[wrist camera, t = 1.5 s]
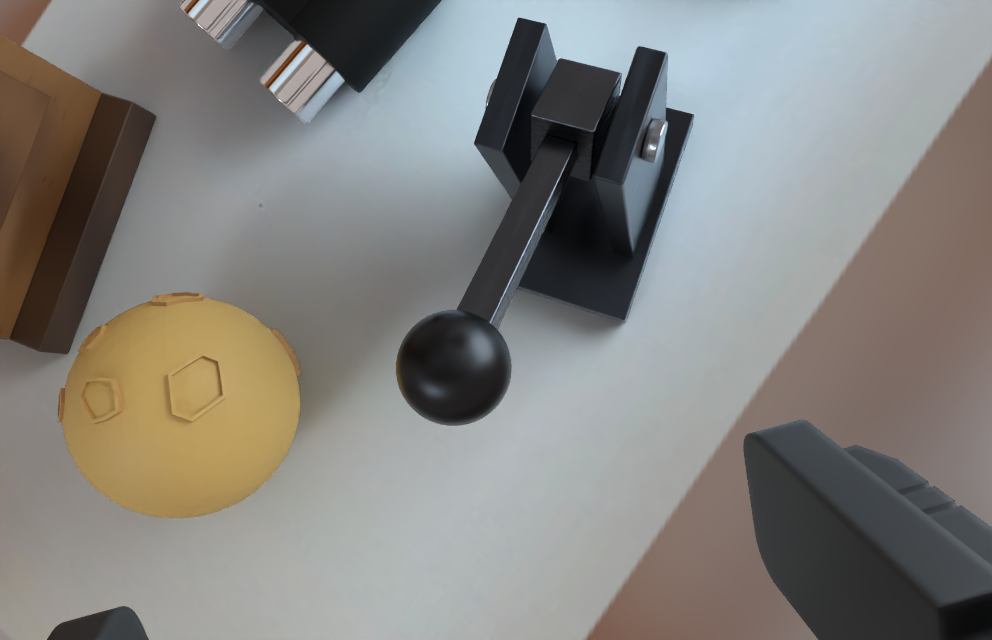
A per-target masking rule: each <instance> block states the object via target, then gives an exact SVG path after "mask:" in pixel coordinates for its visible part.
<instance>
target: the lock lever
mask: <svg viewBox="0 0 992 640" xmlns="http://www.w3.org/2000/svg"><path fill="white" fill-rule="evenodd" d="M621 76H622V74H621V73H619V72H615V71H611V70H607V69H603V68H599V67H595V66H591V65H586V64H582V63H578V62H574V61H570V60H566V59H562V58H560V59H559V60H558V62H557V64H556V66H555V68H554V70H553V72H552V73H551V75H550V77H549V79H548V81H547V83H546V85H545V87H544V89H543V90H542V92H541V94H540V96H539V98H538V100H537V102H536V104H535V106H534V107H533V109H532V111H531V113H530V163H531V164H530V166H529V168H528V170H527V172H526V174H525V176H524V178H523V180H522V182H521V184H520V186H519V188H518V190H517V192H516V194H515V196H514V198H513V200H512V202H511V204H510V206H509V208H508V210H507V212H506V214H505V216H504V218H503V219H502V221H501V223H500V225H499V227H498V229H497V231H496V233H495V235H494V237H493V239H492V241H491V243H490V245H489V247H488V249H487V251H486V253H485V255H484V257H483V259H482V261H481V263H480V265H479V267H478V269H477V271H476V273H475V275H474V277H473V279H472V281H471V283H470V285H469V286H468V288H467V290H466V292H465V294H464V296H463V298H462V300H461V302H460V304H459V306H458V308H457V310H447V311H441V312H438V313H434V314H432V315H430V316H427V317H426V318H424V319H422V320H421V321H420V322H418V323H417V324H416V325H415V326H414V327H413V328H412V329H411V330H410V331H409V332H408V333H407V335H406V336H405V338H404V340H403V341H402V344H401V346H400V348H399V351H398V355H397V361H396V375H397V381H398V385H399V388H400V390H401V393H402V395H403V397H404V398H405V400H406V401H407V403H408V404H409V405H410V406H411V407H412V409H414V410H415V411H416V412H417V413H418V414H419V415H421V416H422V417H424V418H426V419H428V420H430V421H432V422H435V423H438V424H442V425H448V426H458V425H465V424H469V423H472V422H475V421H478V420H480V419H482V418H483V417H485V416H486V415H488V414H489V413H490V412H491V411H493V410H494V409H495V408H496V406H497V405H498V404H499V403H500V402H501V400H502V399H503V397H504V395H505V393H506V391H507V389H508V386H509V383H510V378H511V368H512V366H511V357H510V353H509V349H508V347H507V344H506V342H505V340H504V339H503V337H502V335H501V334H500V333H499V331H498V330H497V329H498V327H499V325H500V323H501V321H502V319H503V317H504V315H505V312H506V310H507V308H508V306H509V304H510V302H511V300H512V298H513V295H514V293H515V291H516V289H517V287H518V285H519V283H520V281H521V278H522V276H523V274H524V272H525V270H526V268H527V266H528V264H529V261H530V259H531V257H532V255H533V253H534V251H535V249H536V246H537V244H538V242H539V240H540V238H541V236H542V234H543V232H544V229H545V227H546V225H547V223H548V221H549V219H550V217H551V215H552V212H553V210H554V208H555V206H556V204H557V202H558V200H559V198H560V195H561V193H562V191H563V189H564V187H565V185H566V183H567V181H568V178H569V176H573V177H576V178H580V179H583V180H587V181H590V180H591V178H592V176H593V174H594V171H595V168H596V165H597V162H598V159H599V157H600V154H601V151H602V148H603V145H604V142H605V139H606V136H607V133H608V130H609V127H610V125H611V122H612V119H613V116H614V113H615V110H616V107H617V104H618V101H619V93H620V85H621Z"/></svg>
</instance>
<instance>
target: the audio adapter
mask: <svg viewBox="0 0 992 640" xmlns="http://www.w3.org/2000/svg"><path fill="white" fill-rule="evenodd" d="M440 1H441V0H182V2H181V3H180V4H179V5H178V6H179V8H180V9H181V10H182V11H183V12H185V13H186V14H187V15H188V16H189V17H190V19H192V20H193V21H194V22H195V23H196V24H197V25H198V26H199V27H200V28H202V29H203V30H204V31H205V32H206V33H207V34H208V35H210V36H211V37H212V38H213V39H214V40H215V41H216V42H218V43H219V44H220V45H221V46H222V47H224V48H225V49H226V50H228V51H229V50H230V49H231V47H232V46H233V45H234V44H235V43H236V42H237V40H238V39H239V38H240V37H241V36H242V35H243V34H244V32H245V31H246V30H247V29H248V28H249V27H250V25H251V24H252V23H253V22H254V21H255V20H256V19H257V17H258V16H259V15H260V14H261V13H262V12H263V10H265V11H266V12H267V13H269V14H270V15H271V16H272V17H273V18H274V19H275V20H276V21H277V22H279V23H280V24H281V25H282V26H283V27H284V28H285V29H286V30H288V31H289V32H290V33H291V34H292V35H293V36H294V38H293V39H292V41H291V42H290V43H289V44H288V45H287V46H286V48H285V49H284V50H283V51H282V52H281V53H280V54H279V56H278V57H277V58H276V59H275V60H274V61H273V62H272V64H271V65H270V66H269V67H268V68H267V69H266V71H265V72H264V73H263V74H262V75H261V76H260V77H259V79H258V80H259V82H260V83H261V84H262V85H263V86H264V87H265V88H266V89H267V90H269V91H270V92H271V94H272V95H273V96H275V97H276V98H277V99H278V100H279V101H280V102H281V103H282V104H283V105H285V106H286V107H287V108H288V109H289V110H290V111H291V112H293V113H294V114H295V115H296V116H297V117H298V118H300V119H301V120H302V121H303V122H305V123H306V124H308V123H309V121H310V120H311V119H312V118H313V117H314V116H315V115H316V113H317V112H318V111H319V110H320V109H321V108H322V107H323V106H324V104H325V103H326V102H327V101H328V100H329V99H330V98H331V96H332V95H333V94H334V93H335V92H336V91H337V90H338V88H339V87H340V86H341V85H342V84H343V83H344V82H346V83H347V84H348V85H349V86H351V87H352V88H353V89H354V90H356V91H357V92H359V93H360V92H361V91H362V90H363V89H364V88H365V87H366V85H367V84H368V83H369V82H370V81H371V80H372V79H373V78H374V76H375V75H376V74H377V73H378V72H379V71H380V70H381V68H382V67H383V66H384V65H385V64H386V63H387V62H388V60H389V59H390V58H391V57H392V56H393V55H394V54H395V53H396V51H397V50H398V49H399V48H400V47H401V46H402V45H403V43H404V42H405V41H406V40H407V39H408V38H409V37H410V35H411V34H412V33H413V32H414V31H415V30H416V29H417V28H418V26H419V25H420V24H421V23H422V22H423V21H424V20H425V18H426V17H427V16H428V15H429V14H430V13H431V12H432V10H433V9H434V8H435V7H436V6H437V5H438V4H439V3H440Z"/></svg>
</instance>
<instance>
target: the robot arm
mask: <svg viewBox="0 0 992 640" xmlns="http://www.w3.org/2000/svg"><path fill="white" fill-rule="evenodd" d="M744 457H745V465H746V472H747V479H748V485H749V493H750V500H751V507H752V514H753V521H754V529H755V535H756V540H757V544H758V547H759V551H760V554H761V557H762V559H763V562H764V564H765V567H766V569H767V571H768V573H769V575H770V577H771V578H772V580H773V582H774V583H775V584H776V586H777V587H778V588H779V590H780V591H781V592H782V594H783V595H784V596H785V597H786V599H787V600H788V601H789V603H790V604H791V605H792V606H793V608H794V609H795V610H796V612H797V613H798V614H799V615H800V616H801V618H802V619H803V620H804V622H805V623H806V624H807V626H808V627H809V628H810V629H811V631H812V632H813V633H814V634H815V636H816V637H817V638H818V640H992V527H991V526H989V525H988V524H987V523H985V522H984V521H982V520H981V519H980V518H978V517H977V516H975V515H974V514H973V513H971V512H970V511H968V510H967V509H966V508H964V507H963V506H957V505H956V504H955V500H953V499H952V498H950V497H949V496H948V495H946V494H945V493H944V492H942V491H941V490H939V489H938V488H937V487H935V486H933V487H930V485H929V483H928V481H927V480H925V479H924V478H923V477H921V476H920V475H918V474H917V473H915V472H914V471H913V470H911V469H910V468H909V467H907V466H906V465H905V464H903V463H902V462H900V461H899V460H898V459H895V458H892V457H889V456H886V455H883V454H881V453H878V452H875V451H872V450H869V449H866V448H863V447H861V446H858V445H855V446H851V447H848V448H844V449H842V448H841V447H840V446H838V445H837V444H836V443H835V442H833V441H832V440H831V439H830V438H828V437H827V436H826V435H825V434H823V433H822V432H821V431H820V430H818V429H817V428H816V427H814V426H813V425H812V424H811V423H809V422H808V421H806V420H798V421H794V422H790V423H787V424H783V425H779V426H776V427H772V428H768V429H765V430H761V431H757V432H754V433H750V434H747V435H746V437H745V439H744ZM47 640H149V639H148V637H147V635H146V632H145V630H144V628H143V626H142V624H141V622H140V620H139V618H138V616H137V615H136V613H135V612H134V611H133V610H132V609H130V608H129V607H125V606H122V607H118V608H114V609H110V610H107V611H103V612H99V613H96V614H92V615H88V616H85V617H81V618H77V619H74V620H70V621H66V622H63V623H61V624H59V625H58V626H57V627H55V629H54V630H53V631H52V632H51V634H50V636H49V637H48V639H47Z"/></svg>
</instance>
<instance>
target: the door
mask: <svg viewBox="0 0 992 640" xmlns="http://www.w3.org/2000/svg"><path fill="white" fill-rule="evenodd" d="M155 118H156V116H155V115H154V114H152V113H150V112H149V111H147V110H145V109H144V108H142V107H140V106H139V105H137V104H135V103H133V102H131V101H128V100H124V99H121V98H118V97H114V96H111V95H108V94H104V93H101V92H100V91H98V90H96V89H95V88H93V87H91V86H89V85H88V84H86V83H84V82H82V81H81V80H79V79H77V78H76V77H74V76H72V75H70V74H69V73H67V72H65V71H63V70H62V69H60V68H58V67H56V66H55V65H53V64H51V63H49V62H48V61H46V60H44V59H42V58H41V57H39V56H37V55H35V54H34V53H32V52H30V51H28V50H27V49H25V48H23V47H21V46H20V45H18V44H16V43H14V42H13V41H11V40H9V39H7V38H6V37H4V36H2V35H0V339H10V340H12V341H15V342H17V343H20V344H22V345H24V346H27V347H29V348H32V349H34V350H37V351H39V352H49V353H60V354H68V352H69V350H70V347H71V344H72V342H73V339H74V336H75V333H76V331H77V328H78V325H79V323H80V320H81V317H82V315H83V312H84V309H85V306H86V304H87V301H88V298H89V296H90V293H91V290H92V288H93V285H94V282H95V280H96V277H97V274H98V271H99V269H100V266H101V263H102V261H103V258H104V255H105V253H106V250H107V247H108V245H109V242H110V239H111V236H112V234H113V231H114V228H115V226H116V223H117V220H118V218H119V215H120V212H121V210H122V207H123V204H124V201H125V199H126V196H127V193H128V191H129V188H130V185H131V183H132V180H133V177H134V175H135V172H136V169H137V166H138V164H139V161H140V158H141V156H142V153H143V150H144V148H145V145H146V142H147V140H148V137H149V134H150V131H151V129H152V126H153V123H154V121H155Z"/></svg>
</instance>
